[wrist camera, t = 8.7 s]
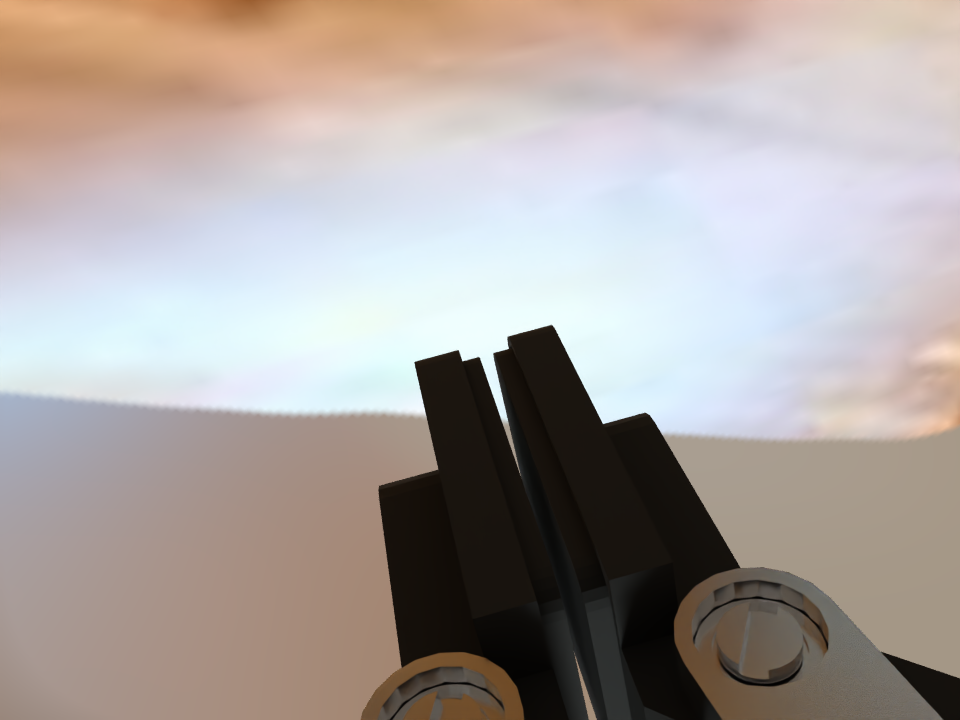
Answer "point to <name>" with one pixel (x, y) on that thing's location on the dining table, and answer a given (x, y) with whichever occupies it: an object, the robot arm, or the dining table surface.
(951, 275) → the dining table surface
